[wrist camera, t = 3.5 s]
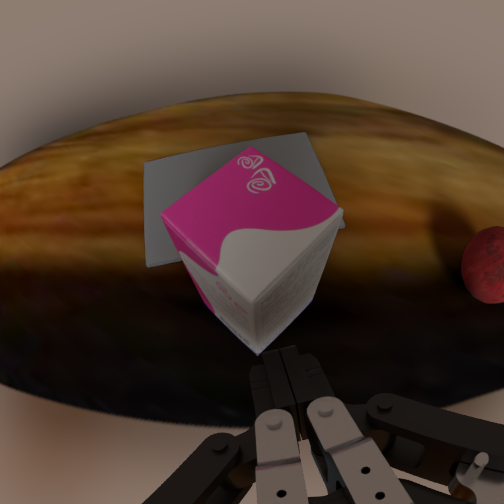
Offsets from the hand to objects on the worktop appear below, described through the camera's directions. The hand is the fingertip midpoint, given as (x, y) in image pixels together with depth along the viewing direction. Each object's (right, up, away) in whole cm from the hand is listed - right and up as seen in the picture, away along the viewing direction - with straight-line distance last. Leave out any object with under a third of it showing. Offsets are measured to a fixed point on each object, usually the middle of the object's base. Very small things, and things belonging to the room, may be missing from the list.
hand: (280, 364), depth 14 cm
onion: (+18, +2, +9) cm, 20 cm away
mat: (-3, +10, +14) cm, 17 cm away
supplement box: (-1, +1, +10) cm, 10 cm away
